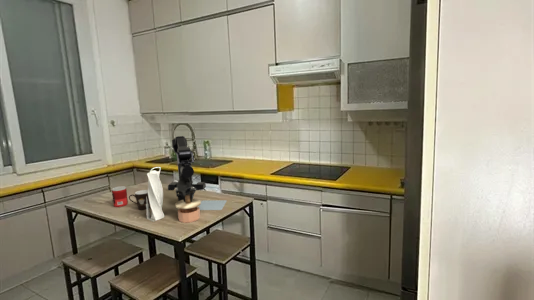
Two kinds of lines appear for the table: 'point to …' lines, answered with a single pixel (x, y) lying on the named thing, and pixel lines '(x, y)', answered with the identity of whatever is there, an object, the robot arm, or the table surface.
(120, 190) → the canned food
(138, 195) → the coffee mug
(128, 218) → the table surface
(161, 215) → the skyscraper
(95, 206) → the table surface
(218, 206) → the mat
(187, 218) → the bowl
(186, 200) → the lid
